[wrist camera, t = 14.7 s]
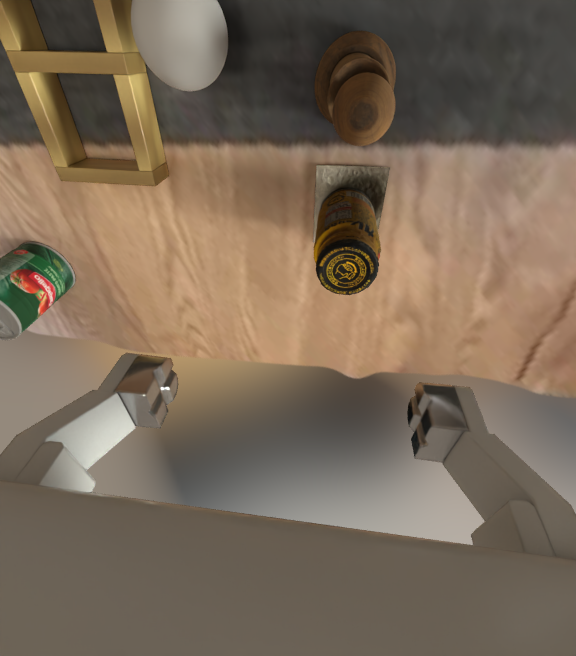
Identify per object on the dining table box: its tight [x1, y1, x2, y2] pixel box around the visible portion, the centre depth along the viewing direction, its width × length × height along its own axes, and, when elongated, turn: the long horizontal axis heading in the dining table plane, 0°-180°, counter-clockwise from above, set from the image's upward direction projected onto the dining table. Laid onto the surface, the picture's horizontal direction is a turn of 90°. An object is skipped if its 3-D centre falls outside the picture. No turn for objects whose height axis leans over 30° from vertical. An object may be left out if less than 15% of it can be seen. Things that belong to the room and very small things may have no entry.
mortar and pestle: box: [315, 31, 396, 146], centre depth 22 cm, size 7×6×18 cm
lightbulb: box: [131, 0, 228, 91], centre depth 24 cm, size 6×6×11 cm
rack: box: [0, 0, 169, 186], centre depth 29 cm, size 19×10×4 cm, turn 179°
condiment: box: [313, 165, 390, 295], centre depth 31 cm, size 7×8×12 cm
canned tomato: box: [0, 242, 75, 340], centre depth 42 cm, size 8×8×11 cm
